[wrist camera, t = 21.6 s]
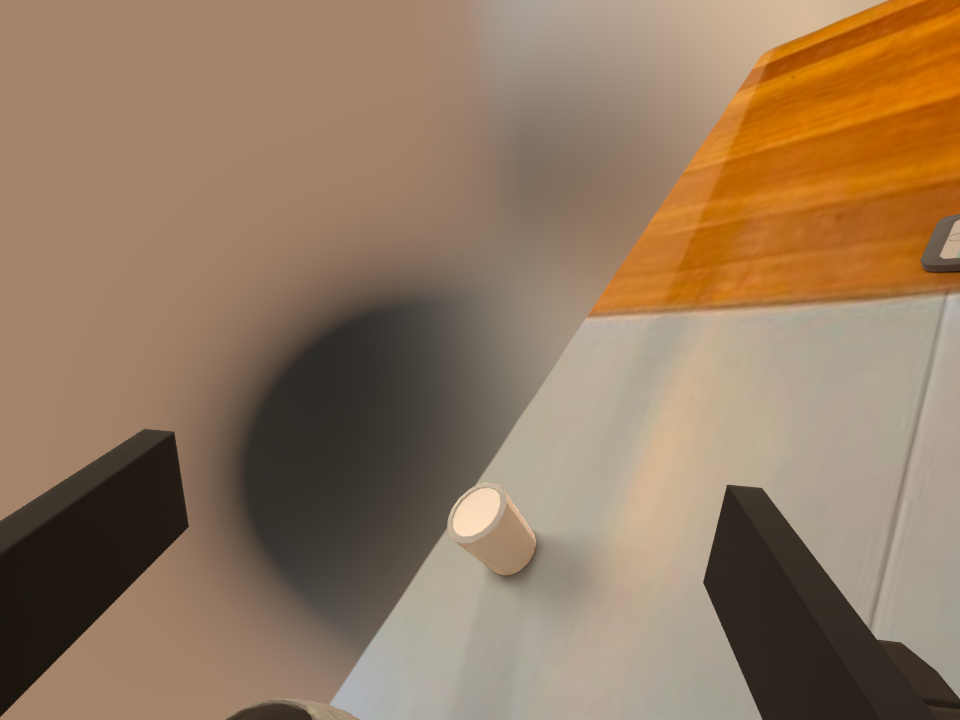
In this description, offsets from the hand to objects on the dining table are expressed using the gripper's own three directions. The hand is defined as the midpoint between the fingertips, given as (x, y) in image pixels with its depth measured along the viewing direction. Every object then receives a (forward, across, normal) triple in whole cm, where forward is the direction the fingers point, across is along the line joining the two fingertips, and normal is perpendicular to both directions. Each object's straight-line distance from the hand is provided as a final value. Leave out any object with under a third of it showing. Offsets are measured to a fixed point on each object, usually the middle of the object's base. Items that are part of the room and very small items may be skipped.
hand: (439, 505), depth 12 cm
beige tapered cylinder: (+34, +3, -29) cm, 45 cm away
